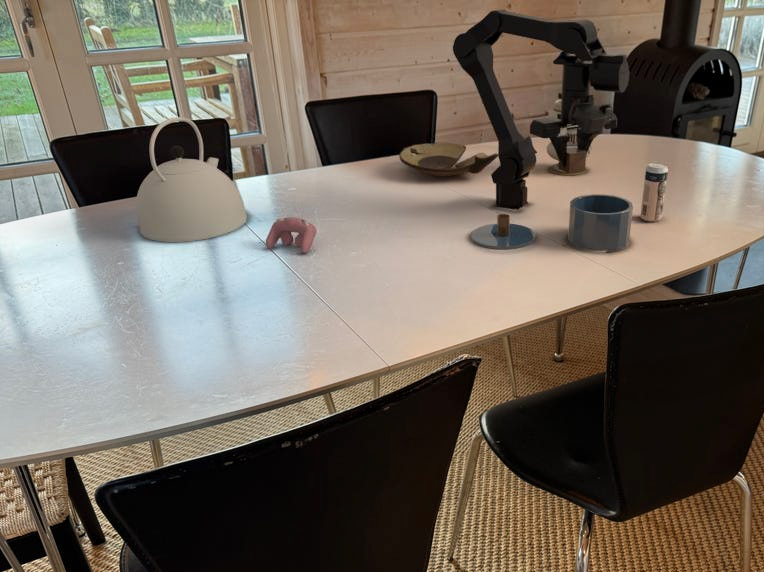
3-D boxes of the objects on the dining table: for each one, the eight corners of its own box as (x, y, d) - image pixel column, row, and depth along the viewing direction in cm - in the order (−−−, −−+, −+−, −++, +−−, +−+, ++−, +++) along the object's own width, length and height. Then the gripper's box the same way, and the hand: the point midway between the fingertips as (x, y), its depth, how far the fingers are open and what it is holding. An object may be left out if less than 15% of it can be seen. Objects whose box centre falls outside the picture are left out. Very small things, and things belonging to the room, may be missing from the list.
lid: (459, 245, 137) (459, 221, 134) (489, 224, 147) (489, 201, 144) (518, 256, 132) (519, 231, 129) (545, 234, 142) (546, 211, 139)
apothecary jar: (546, 163, 188) (549, 96, 179) (589, 164, 187) (595, 97, 178) (544, 175, 178) (547, 105, 169) (589, 177, 177) (595, 106, 167)
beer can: (661, 223, 147) (669, 168, 140) (639, 222, 148) (646, 167, 141) (661, 216, 151) (668, 162, 144) (639, 214, 152) (646, 161, 145)
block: (569, 173, 143) (570, 153, 141) (558, 168, 146) (559, 149, 144) (585, 170, 144) (586, 151, 142) (574, 166, 148) (575, 147, 145)
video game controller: (317, 255, 137) (320, 221, 136) (304, 253, 133) (308, 218, 132) (276, 249, 140) (279, 216, 139) (262, 247, 136) (266, 213, 135)
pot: (558, 246, 136) (560, 208, 132) (580, 227, 145) (583, 191, 141) (617, 257, 131) (621, 218, 127) (635, 236, 140) (640, 199, 136)
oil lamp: (454, 156, 196) (453, 129, 192) (511, 180, 175) (512, 151, 171) (385, 168, 186) (383, 140, 182) (437, 195, 165) (436, 164, 161)
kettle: (184, 201, 163) (160, 104, 151) (269, 206, 159) (251, 107, 147) (117, 238, 142) (83, 129, 131) (213, 245, 138) (187, 133, 127)
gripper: (559, 99, 127) (556, 180, 135) (637, 90, 134) (629, 167, 142) (529, 91, 135) (527, 168, 143) (603, 82, 143) (598, 156, 151)
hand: (571, 165), depth 145 cm, fingers closed on block, 4 cm apart
